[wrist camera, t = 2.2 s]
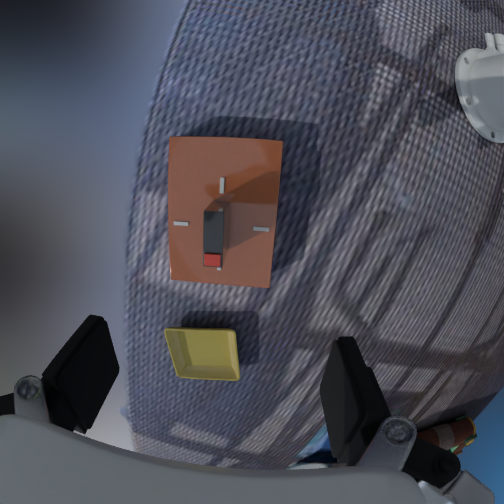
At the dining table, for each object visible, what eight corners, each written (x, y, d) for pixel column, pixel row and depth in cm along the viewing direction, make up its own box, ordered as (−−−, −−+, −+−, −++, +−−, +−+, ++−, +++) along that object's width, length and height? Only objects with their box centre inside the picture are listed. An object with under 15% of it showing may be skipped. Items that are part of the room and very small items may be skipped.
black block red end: (212, 200, 25) (202, 211, 21) (230, 201, 25) (223, 212, 21) (211, 248, 26) (202, 267, 22) (228, 250, 26) (222, 269, 22)
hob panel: (178, 137, 25) (168, 136, 23) (281, 141, 25) (283, 140, 22) (178, 267, 31) (170, 280, 28) (269, 275, 30) (269, 289, 28)
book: (348, 473, 50) (353, 504, 41) (377, 433, 43) (388, 472, 33) (432, 453, 50) (441, 479, 40) (470, 409, 42) (485, 438, 33)
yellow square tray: (241, 370, 36) (240, 381, 34) (180, 367, 36) (176, 378, 34) (237, 319, 33) (235, 330, 31) (168, 318, 33) (163, 328, 31)
